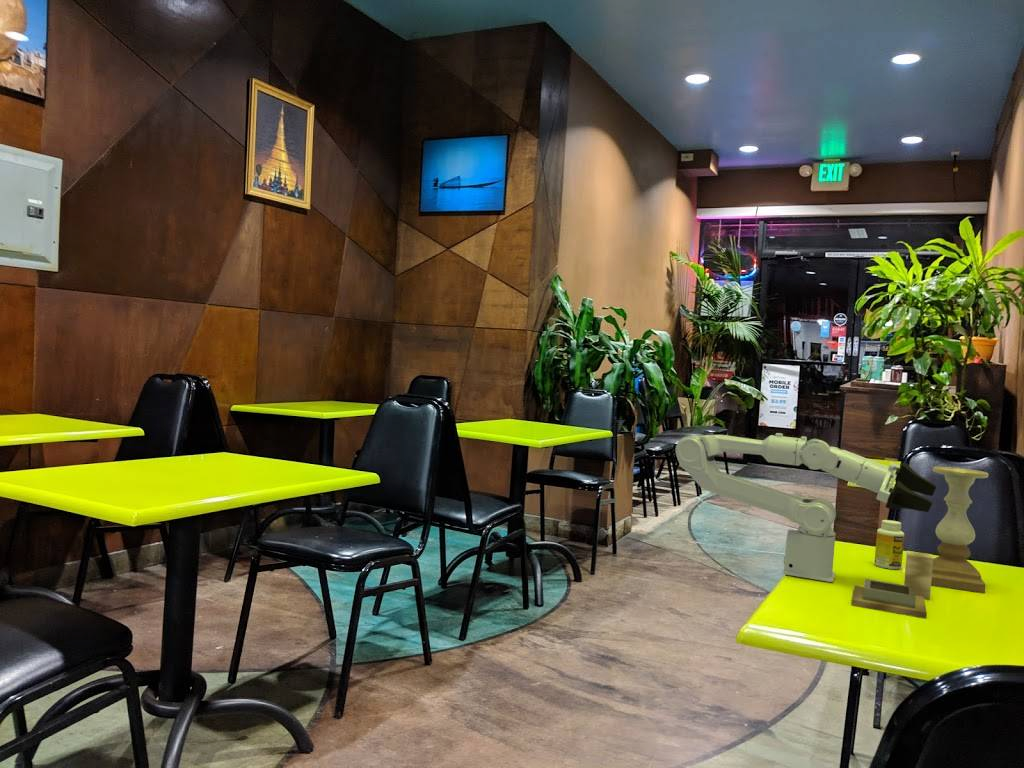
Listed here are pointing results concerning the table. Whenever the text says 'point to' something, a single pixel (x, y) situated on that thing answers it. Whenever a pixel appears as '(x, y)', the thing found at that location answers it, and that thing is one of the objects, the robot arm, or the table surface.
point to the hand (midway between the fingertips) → (932, 499)
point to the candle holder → (956, 534)
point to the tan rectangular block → (919, 573)
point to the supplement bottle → (889, 545)
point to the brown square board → (917, 611)
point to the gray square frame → (889, 593)
